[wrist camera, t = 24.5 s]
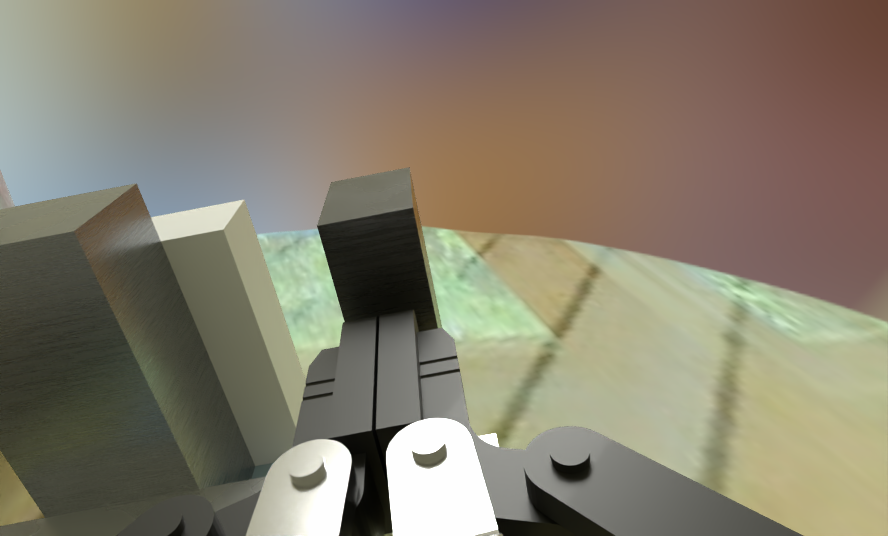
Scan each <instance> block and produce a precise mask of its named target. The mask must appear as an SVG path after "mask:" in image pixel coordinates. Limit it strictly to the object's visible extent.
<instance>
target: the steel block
mask: <svg viewBox="0 0 888 536" xmlns="http://www.w3.org/2000/svg"><path fill="white" fill-rule="evenodd" d="M0 450H1V452H2V453H3V455H4V456H5V458H6V459H7V461H8V462H9V464H10V465H11V467H12V468H13V470H14V471H15V473H16V474H17V476H18V477H19V479H20V480H21V482H22V483H23V485H24V486H25V488H26V489H27V491H28V492H29V494H30V495H31V497H32V498H33V500H34V501H35V503H36V504H37V506H38V507H39V509H40V510H41V512H42V513H43V515H44V516H45V518H47V517H52V516H58V515H63V514H68V513H73V512H79V511H84V510H89V509H95V508H100V507H105V506H111V505H116V504H121V503H127V502H132V501H137V500H143V499H148V498H153V497H159V496H164V495H169V494H175V493H180V492H185V491H191V490H196V489H201V488H207V487H212V486H217V485H223V484H228V483H233V482H239V481H244V480H249V479H252V476H253V472H254V469H255V464H254V462H253V460H252V457H251V455H250V453H249V450H248V448H247V445H246V443H245V441H244V438H243V436H242V433H241V431H240V429H239V426H238V424H237V422H236V419H235V417H234V414H233V412H232V410H231V407H230V405H229V402H228V400H227V398H226V395H225V393H224V391H223V388H222V386H221V383H220V381H219V379H218V376H217V374H216V372H215V369H214V367H213V364H212V362H211V360H210V357H209V355H208V352H207V350H206V348H205V345H204V343H203V341H202V338H201V336H200V333H199V331H198V329H197V326H196V324H195V322H194V319H193V317H192V314H191V312H190V310H189V307H188V305H187V302H186V300H185V298H184V295H183V293H182V291H181V288H180V286H179V283H178V281H177V279H176V276H175V274H174V271H173V269H172V267H171V264H170V262H169V260H168V257H167V255H166V252H165V250H164V248H163V245H162V243H161V241H160V238H159V236H158V233H157V231H156V229H155V226H154V224H153V221H152V219H151V217H150V214H149V212H148V210H147V207H146V205H145V203H144V200H143V198H142V195H141V193H140V191H139V189H138V186H137V184H132V185H126V186H121V187H116V188H110V189H106V190H100V191H95V192H89V193H84V194H79V195H74V196H68V197H63V198H58V199H52V200H47V201H42V202H37V203H32V204H26V205H21V206H16V207H10V208H5V209H0Z"/></svg>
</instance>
